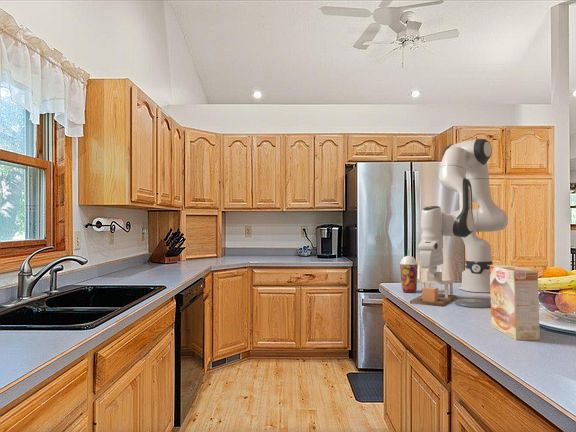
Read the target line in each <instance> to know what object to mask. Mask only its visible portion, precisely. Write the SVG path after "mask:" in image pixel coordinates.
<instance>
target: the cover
mask: <svg viewBox="0 0 576 432" xmlns="http://www.w3.org/2000/svg"><path fill="white" fill-rule="evenodd" d="M420 282H421V289H422V288H424V287H426V284H427V287H432V286H431V284H435V285H436V284H437V285H444V294H445V298H448V295H454V292H453V291H454V287H453V286H454V279H451V278H443V272H442V271H436V277H430V273H429V270H427V271H426V278H424V279H421V280H420Z"/></svg>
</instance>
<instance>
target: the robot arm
mask: <svg viewBox="0 0 576 432" xmlns="http://www.w3.org/2000/svg"><path fill="white" fill-rule="evenodd" d="M492 149H493V148H492V145H491V143H490V141H489V140H488V139H486V138H476V139H469V140H464V141H460V142H457V143H454V144H453V143H452V144H449V145H447V146H446V147H445V148H444V149H443V151H442V159H441V162H440V167H439V170H438V181H439V183H440V184H441V186H443V187H444V188H446V190H450V191H453V192H455V193H458V196H459V198H458V199H459V200H458V201H459V203H458V204H459V209H457V210H454V211H452V212H451V213H445V212H443V211H442V209H441V206H438V205H430V206H425V207H424V208H422V210H421V214H420V215H421V216H420V229H421V236H420V242H419V243H418V246H417V247H418V248H417V249H418V250H420V251H419V262H420V263H419V264H420V267H421V268H422V269H428V271H429V273H430V277H436V272H438V271H437V270H438V266H441V265H443V264H444V252H443V249H444V236H445V237H459V238H461V239H462V241H463V243H464V249H465V261H464V265H465V269H464V270H463V271H462V272H461V285H460V286H458V289H459V290H462V291H465V292H472V293H491V291H490V265H494V263H493V261H492V246H491V243H490V242H489V241H487V240H485V239H483V238H480V237H478V236H477V233H479V232H480V233H481V232H484V233H486V232H487V233H488V232H489V233H490V232H491V233H492V232H497V231H503V230H505V228H507V226H508V223H509V217H508V214H507V213H506V212H505V211H504V210H503V209H502V208H500V207H499V206H498V205H497V204H496V203H495V202H494V200H493V198H492V195H491V188H490V187H491V185H490V173H489V166H488V161H489V160H490V159H491V156H492V154H493V153H492V151H493V150H492ZM473 203H476V204H477V205H478V206H479V207H478V208H473Z"/></svg>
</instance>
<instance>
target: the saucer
mask: <svg viewBox="0 0 576 432" xmlns="http://www.w3.org/2000/svg"><path fill="white" fill-rule="evenodd" d="M454 305H456V306H459V307H462V308H469V309H470V308H471V309H489V308H490V309H491V300H486V299H481V298H480V299H479V298H478V299H477V298H460V299H459V298H458V299H454Z"/></svg>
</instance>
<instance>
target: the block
mask: <svg viewBox="0 0 576 432" xmlns="http://www.w3.org/2000/svg"><path fill="white" fill-rule="evenodd" d="M438 294H439V287H437V286H436V287H435V286H434V287H433V286H431V287H428V286H425V287H424V288H422V287H421V295H422V301H430V302H437V301H438Z"/></svg>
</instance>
